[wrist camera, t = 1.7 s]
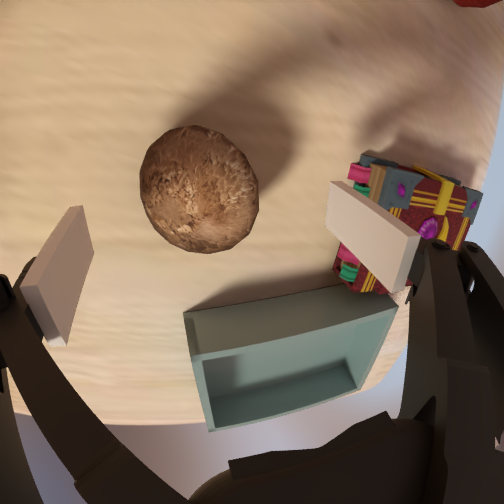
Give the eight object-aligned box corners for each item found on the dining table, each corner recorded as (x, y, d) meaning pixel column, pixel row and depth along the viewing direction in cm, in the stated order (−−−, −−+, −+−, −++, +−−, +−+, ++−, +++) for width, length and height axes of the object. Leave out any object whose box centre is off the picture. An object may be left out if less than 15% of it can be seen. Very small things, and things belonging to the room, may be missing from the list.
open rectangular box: (200, 397, 33) (208, 432, 29) (182, 312, 25) (190, 355, 21) (343, 362, 38) (360, 389, 33) (371, 277, 30) (398, 306, 26)
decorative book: (424, 262, 32) (450, 285, 28) (317, 269, 27) (343, 302, 23) (454, 177, 27) (487, 194, 23) (348, 149, 22) (387, 167, 18)
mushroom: (300, 154, 17) (269, 200, 13) (248, 236, 23) (212, 292, 18) (194, 94, 17) (130, 118, 13) (163, 183, 23) (112, 225, 18)
